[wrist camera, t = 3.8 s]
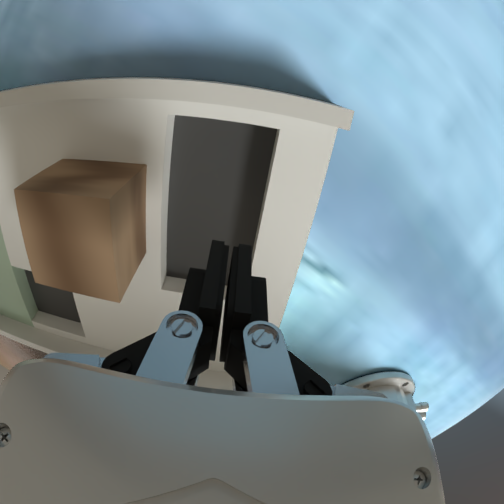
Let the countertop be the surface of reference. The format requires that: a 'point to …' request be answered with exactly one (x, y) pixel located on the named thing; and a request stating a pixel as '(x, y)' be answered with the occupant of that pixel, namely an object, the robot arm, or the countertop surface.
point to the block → (85, 225)
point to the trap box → (165, 195)
